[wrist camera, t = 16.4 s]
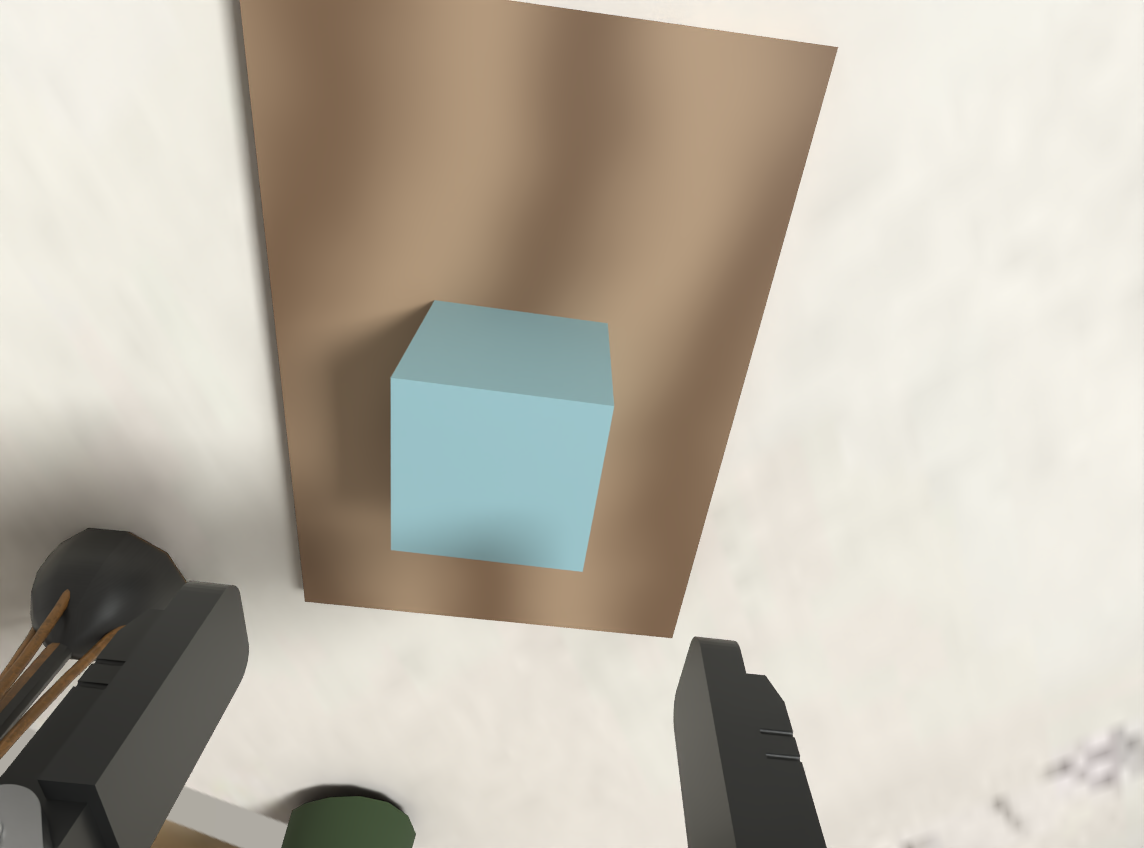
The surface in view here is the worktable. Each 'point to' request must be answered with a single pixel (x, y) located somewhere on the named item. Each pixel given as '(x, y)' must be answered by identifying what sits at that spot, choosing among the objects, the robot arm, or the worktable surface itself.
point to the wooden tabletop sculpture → (80, 615)
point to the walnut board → (520, 261)
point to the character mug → (348, 825)
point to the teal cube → (499, 436)
